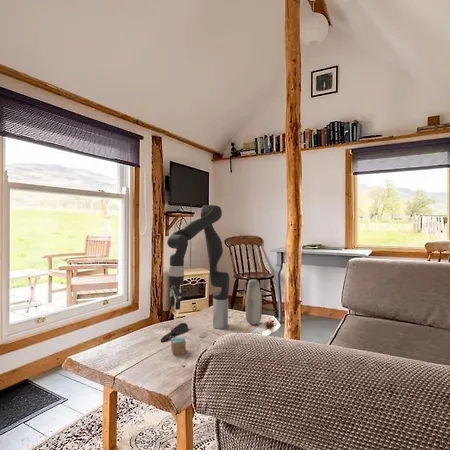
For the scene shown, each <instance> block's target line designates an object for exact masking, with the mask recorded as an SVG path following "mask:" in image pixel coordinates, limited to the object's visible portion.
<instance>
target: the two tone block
mask: <svg viewBox="0 0 450 450" xmlns="http://www.w3.org/2000/svg"><path fill="white" fill-rule="evenodd" d="M170 344H171V345H170V346H171V347H170V351H171V353H172V355H173V356H176V355H183V354H186V351H187V350H186V348H187V347H186V340H185V338H184V336H179V337H171V343H170Z"/></svg>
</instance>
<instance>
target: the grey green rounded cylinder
mask: <svg viewBox="0 0 450 450" xmlns="http://www.w3.org/2000/svg"><path fill="white" fill-rule="evenodd" d="M262 299H263V297H262V292H261V285H260V281H259V280H258V279H255V278H252V279H249V281H248V282H247V289H246V294H245V300H244V301H245V303H244V304H245V319H246V322H247V323H249V324H250V325H252V326H253V325H254V326H255V325H258V324H259V323H260V322H261V321H262V316H263V315H262V313H263V312H262V311H263V310H262V308H263V302H262V301H263V300H262Z"/></svg>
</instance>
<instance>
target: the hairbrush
mask: <svg viewBox="0 0 450 450" xmlns="http://www.w3.org/2000/svg"><path fill="white" fill-rule="evenodd" d="M188 327H189V326H188V324H187V323H186V322H179V324H177V325H175V326H173V328H171V329H170V332H169V333H167V334H165V335H164V336H162V337H161V338H160V343H166V342H167V341H168V340H169V339H170V337H172V335H173V336H179V335H182V334H185V333H186V332H187V331H188Z"/></svg>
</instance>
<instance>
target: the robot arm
mask: <svg viewBox="0 0 450 450" xmlns="http://www.w3.org/2000/svg"><path fill="white" fill-rule="evenodd" d="M222 213H223V211H222V208H221V207H220V206H219V205H216V204H215V205H213V204H211V205H210V204H204V205H203V206H202V207H201V208H200V218H198V219H195V220H193V221H191V222H190V223H188V224H187V225H185V226H184V227H183V228H181V229H180V230H177V231H175V232H173V233H171V234H170V235H169V236H168V238H167V241H166V242H167V243H166V244H167V246H168V247H169V248H170V249H176V250H175V252H174V253H171V254H170V256H169V267H168V281H167V282H168V285H169V287H168V297H169V306H170V307H175V310H177V311H178V310H181V302H183V292H184V290H183V288H181V286H182V285H184V282H185V281H184V279H185V267H184V265H185V264H184V263H185V255H186V252H187V249H188V245H189V240H192V239H193V238H195V237H196V236H197V235H198V234H199V233H200V232H201V231H202V232H203V230H204V237H205V244H206V251H207V252H206V253H207V258H208V264H209V267H208V268H209V281H210V284H211V286H212V287H215V288H221V289H220V290H219V291H216V292H214V293H213V295H212V327H213V328H214V329H219V330H221V329H222V330H223V329H226V328H229V293H230V292H229V291H230V275H229V273H228V272H225V271H218V264H219V262H220V260H221V257H222V256H223V252H224V248H223V241H222V238H221V237H220V236H219V235H218V233H217V231H216V230H215V227H214V223H216V222H218V221H219V220H221V218H222V215H223V214H222Z"/></svg>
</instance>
